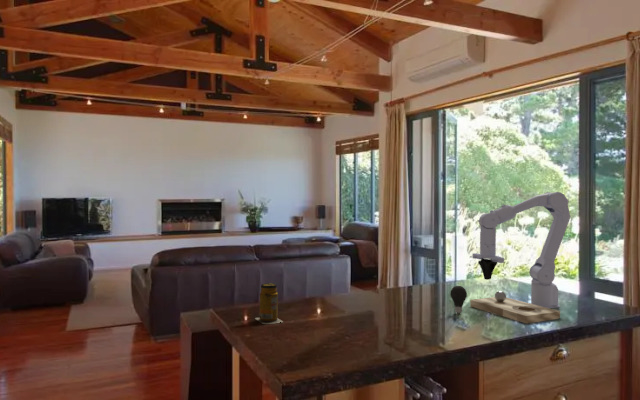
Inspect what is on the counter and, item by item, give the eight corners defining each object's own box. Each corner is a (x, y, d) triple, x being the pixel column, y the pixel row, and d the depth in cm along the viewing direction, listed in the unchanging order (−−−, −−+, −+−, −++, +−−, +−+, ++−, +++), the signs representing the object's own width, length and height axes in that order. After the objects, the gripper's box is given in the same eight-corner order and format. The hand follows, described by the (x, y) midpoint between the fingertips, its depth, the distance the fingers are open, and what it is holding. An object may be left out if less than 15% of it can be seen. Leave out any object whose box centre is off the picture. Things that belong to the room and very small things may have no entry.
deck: (501, 302, 182) (501, 296, 182) (560, 318, 158) (560, 311, 158) (470, 306, 175) (470, 299, 175) (526, 323, 152) (526, 315, 152)
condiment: (274, 316, 159) (275, 281, 159) (283, 322, 151) (284, 286, 151) (254, 318, 156) (254, 283, 155) (262, 325, 148) (262, 288, 148)
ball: (500, 300, 175) (500, 289, 175) (508, 302, 171) (508, 291, 171) (492, 301, 173) (492, 290, 173) (500, 303, 169) (500, 292, 169)
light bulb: (467, 316, 161) (467, 287, 160) (451, 315, 162) (451, 286, 162) (465, 312, 166) (466, 284, 166) (449, 311, 167) (449, 284, 167)
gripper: (466, 242, 183) (466, 276, 183) (494, 246, 170) (494, 283, 170) (480, 242, 186) (479, 275, 186) (508, 245, 173) (508, 281, 173)
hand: (487, 279), depth 178 cm, fingers closed
